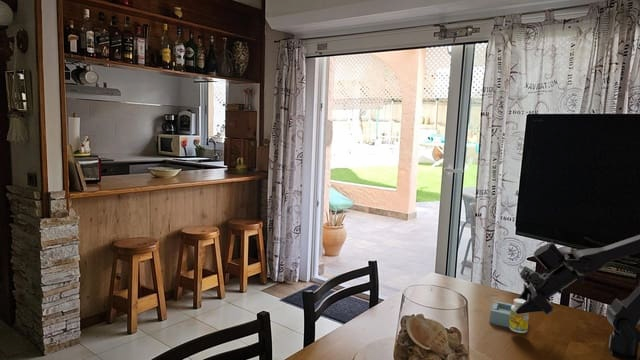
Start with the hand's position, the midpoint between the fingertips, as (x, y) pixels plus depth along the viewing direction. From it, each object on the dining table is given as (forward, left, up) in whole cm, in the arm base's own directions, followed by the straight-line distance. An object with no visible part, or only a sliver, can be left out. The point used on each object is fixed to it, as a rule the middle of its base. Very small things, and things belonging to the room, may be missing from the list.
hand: (515, 309), depth 138 cm
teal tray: (+3, -10, -9) cm, 14 cm away
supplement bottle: (-1, 0, -7) cm, 7 cm away
